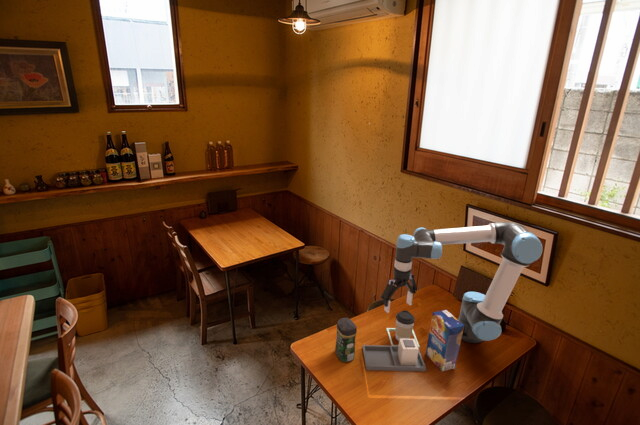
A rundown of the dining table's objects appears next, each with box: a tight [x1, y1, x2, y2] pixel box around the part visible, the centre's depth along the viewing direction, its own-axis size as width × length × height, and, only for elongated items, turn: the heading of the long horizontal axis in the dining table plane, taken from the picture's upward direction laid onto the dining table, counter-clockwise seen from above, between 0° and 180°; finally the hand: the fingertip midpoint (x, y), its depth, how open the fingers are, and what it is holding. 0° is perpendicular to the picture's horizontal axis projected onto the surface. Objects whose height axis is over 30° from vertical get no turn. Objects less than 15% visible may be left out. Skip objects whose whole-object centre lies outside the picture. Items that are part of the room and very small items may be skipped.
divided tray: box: [362, 344, 427, 372], centre depth 162 cm, size 26×14×3 cm, turn 91°
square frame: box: [386, 327, 421, 349], centre depth 176 cm, size 14×14×2 cm
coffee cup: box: [394, 309, 416, 342], centre depth 174 cm, size 9×9×15 cm
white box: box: [397, 338, 420, 366], centre depth 161 cm, size 7×7×9 cm
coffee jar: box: [334, 317, 358, 363], centre depth 162 cm, size 10×8×19 cm
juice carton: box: [425, 309, 464, 372], centre depth 159 cm, size 12×8×24 cm, turn 20°
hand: (397, 307), depth 166 cm, fingers open, 13 cm apart
